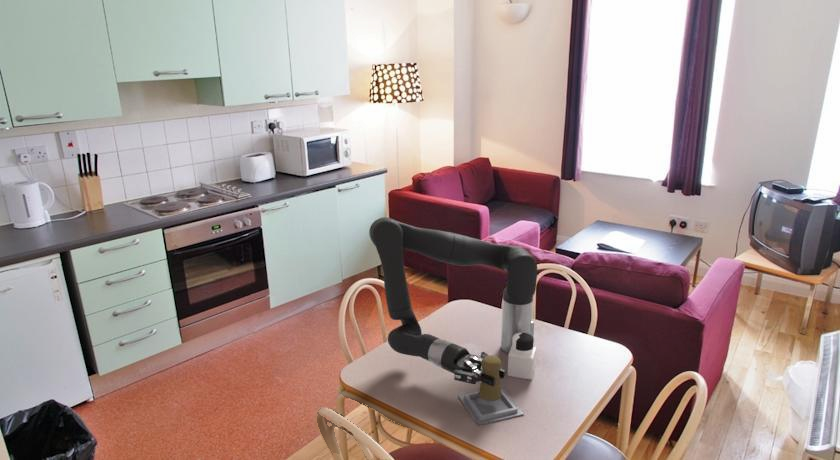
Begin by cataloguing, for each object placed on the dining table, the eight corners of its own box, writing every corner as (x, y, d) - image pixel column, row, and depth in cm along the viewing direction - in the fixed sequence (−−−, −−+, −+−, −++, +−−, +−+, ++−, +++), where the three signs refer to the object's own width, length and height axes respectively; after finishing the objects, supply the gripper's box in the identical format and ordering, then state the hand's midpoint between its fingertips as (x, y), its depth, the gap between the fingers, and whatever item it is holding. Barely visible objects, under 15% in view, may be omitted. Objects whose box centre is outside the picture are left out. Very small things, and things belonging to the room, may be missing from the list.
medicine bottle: (535, 367, 166) (537, 332, 163) (531, 380, 160) (533, 343, 156) (511, 363, 169) (513, 328, 165) (507, 376, 162) (508, 339, 158)
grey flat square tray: (501, 388, 156) (501, 383, 156) (523, 415, 145) (523, 410, 144) (458, 397, 152) (458, 392, 152) (478, 425, 141) (478, 421, 140)
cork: (500, 402, 144) (502, 365, 141) (477, 399, 145) (478, 363, 142) (502, 389, 150) (503, 353, 146) (479, 386, 151) (481, 351, 147)
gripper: (431, 354, 148) (484, 377, 138) (463, 334, 158) (515, 355, 148) (431, 378, 151) (483, 403, 140) (463, 357, 161) (513, 379, 150)
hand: (499, 378), depth 144 cm, fingers closed on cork, 4 cm apart
